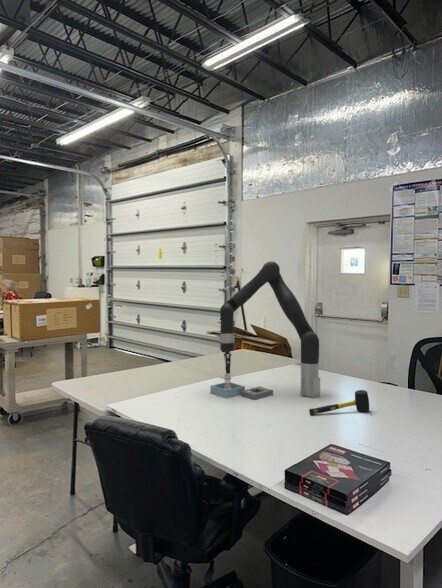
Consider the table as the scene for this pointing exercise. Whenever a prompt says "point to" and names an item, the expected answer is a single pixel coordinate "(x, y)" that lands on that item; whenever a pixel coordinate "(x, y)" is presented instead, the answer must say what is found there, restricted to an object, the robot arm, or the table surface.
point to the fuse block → (256, 393)
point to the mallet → (347, 404)
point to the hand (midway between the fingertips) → (227, 371)
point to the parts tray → (222, 392)
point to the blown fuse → (227, 381)
